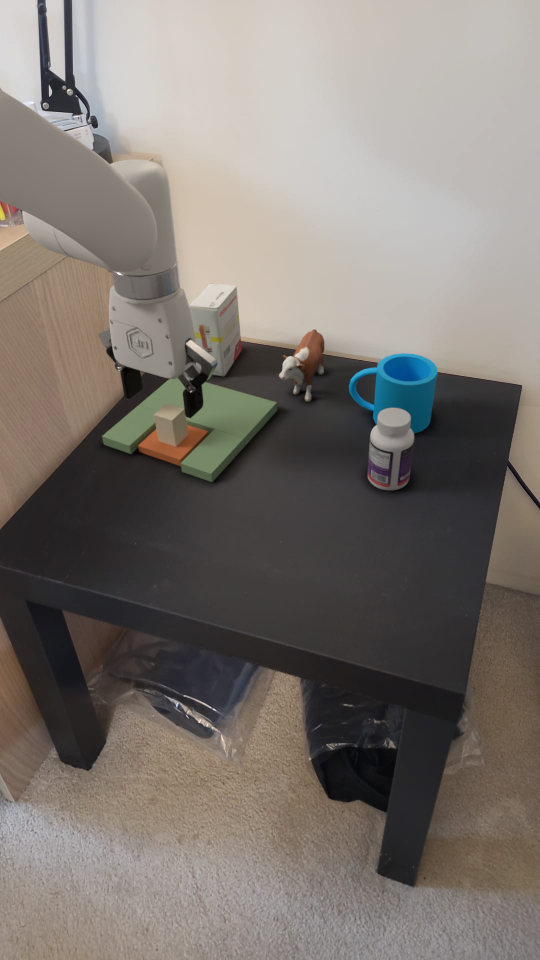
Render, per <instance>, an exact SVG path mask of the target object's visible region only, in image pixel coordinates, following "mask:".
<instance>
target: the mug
mask: <svg viewBox="0 0 540 960" xmlns="http://www.w3.org/2000/svg"><path fill="white" fill-rule="evenodd" d="M369 375H376V377H375V388H374V389H375V391H374V402H373V404H372V403H371V402H368V401H367V400H365V399H364V398H362V396H360V394H359V392H358V391H357V383H358V382H359V380H360V379H362V378H363V377H365V376H369ZM437 379H438V367H437V365H436V363H435V362H433V361H432V360H431V359H429V358H427V357H425V356H423V355H419V354H414V353H407V352H406V353H405V352H403V353H401V352H400V353H394V354H389V355H386V356H385V357H384V358H381V359H380V361H379V362H378V363H377V365H376V367H369V368H368V367H367V368H364V369H362V370H360V371H358V372H356V373H355V374H353V376H352V378H351V379H350V380H349V385H348V390H349V394H350V396H351V398H352V400H353V401H354V402H355V403H356V404H358V405H359V406H360V407H362V408H364V409H366V410H368V411H371V412H373V415H372V419H373V421H374V423H375V425H377V418H378V414H379V412H380V411H382V410H384V409H387V408H399V409H403V410H405V411H407V412H408V413H409V414H410V416H411V424H410V428H411V429H412V431H413V433H414V435H415V434H418V433H420V432H423V431H424V430H425V429H427V428H428V427H429V425H430V424H431V419H432V412H433V406H434V398H435V392H436V387H437Z"/></svg>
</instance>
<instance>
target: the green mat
mask: <svg viewBox="0 0 540 960" xmlns="http://www.w3.org/2000/svg"><path fill="white" fill-rule="evenodd" d="M190 379H191V380H193V379H194V377H190ZM185 389H186V388H185V387H184V385H183V384H182V383H181V381H180V380H179V379H178V378H176V379H168V380H166V381H165V382H164V383H162V384H161V385H160V386H159V387H158V388H157V389H156V390H155V391H153V392H152V393H151V394H150V395H149V396H147V397H146V398H145V399H144V400H143V401H141V403H139V404H137V406H136V407H134V409H132V410H131V411H130V412H129V413H127V414H126V415H125V416H124V417H123V418H121V419H120V420H119V421H118V422H117V423H116V424H114V426H112V427H111V428H110V429H109V430H107V431H106V432H104V434H102V436H101V438H102V443H103V445H104V446H107V447H109V448H112V449H116V450H118V451H121V452H124V453H126V454H130V455H133V454H134V452H135V451H136V450H137V449H139V447H138V445H139V444H140V443H141V442H142V441H144V440H145V439H146V438H147V437H148V436H149V435H150V434H151V433H152V432H153V431H154V430H156V424H155V418H154V414H155V413H156V412H157V411H159V410H160V409H161V408H162V407H163V406H164V405H165V404H166V403H167V404H171V405H174V406H177V407H180V408H184V401H183V391H184V390H185ZM202 392H203V407H202V408H201V409H200V410H199V411H198V412H197V413H196V414H195V415H194V416H193V417H192V418H188V417H186V422H187V425H189V426H192V427H196V428H199V429H202V430H205V431H208V434H209V435H208V436H207V437H206V438H205V439H204V440H203V441H202V442H201V443H200V444H199V445H198V446H197V447H196V448H195V449H194V450H193V451H192V452H191V453H190V454H189V455H188V456H187V457H186V458H185V459H184V460H183V461H182V462H181V466H180V468H181V472H182V473H184V474H187V475H190V476H193V477H195V478H199V479H201V480H204V481H207V482H210V483H213V482H214V481H215V480H216V479H217V478H218V477H219V476H220V475H221V473H223V471H224V470H225V469H226V468H227V467H228V466H229V464H230V463H232V461H233V460H234V459H235V458H236V457H237V455H239V454H240V452H242V451H243V449H244V448H245V447H246V446H247V444H248V443H250V441H251V440H253V438H254V437H255V436H256V435H257V434H258V433H259V431H260V430H261V429H262V428H264V426H265V425H266V424H267V423H268V422H269V420H270V419H271V418H272V417H273V416H274V415H275V414H276V413H277V411H278V402H277V401H274V400H271V399H266V398H262V397H259V396H256V395H252V394H249V393H246V392H242V391H238V390H235V389H231V388H227V387H224V386H220V385H218V384H213V383H210V382H207V381H206V382H205V383H204V384H202Z"/></svg>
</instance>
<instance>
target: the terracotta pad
mask: <svg viewBox="0 0 540 960" xmlns="http://www.w3.org/2000/svg"><path fill="white" fill-rule="evenodd" d="M154 418H155V424H156V430H154V431H153V432H152V433H151V434H150V435H149V436H148V437H147V438H146V439H145V440H144V441H142V442H141V443H140V444H139V445H138V452H139V453H141V454H143V455H147V456H148V457H149V456H150V457H152V458H155V459H159V460H160V461H161V460H162V461H164V462H167V463H170V464H173V465H175V466H178V467H181V462H182V461H183V460H184V459H185V458H186V457H187V456H188V455H189V454H190V453H191V452H192V451H193V450H194V449H195V448H196V447H197V446H198V445H199V444H200V443H201V442H202V441H203V440H204V439H205V438H206V437H207V436H208V435H209V434H208V431H205V430H202V429H199V428H196V427H192V426H189V425H187V422H186V416H185V409H184V408H180V407H177V406H174V405H171V404H167V403H166V404H165V405H164V406H163V407H162V408H161V409H160V410H159V411H157V412H156V413H155V414H154Z"/></svg>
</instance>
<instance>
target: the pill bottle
mask: <svg viewBox="0 0 540 960" xmlns="http://www.w3.org/2000/svg"><path fill="white" fill-rule="evenodd" d="M410 424H411V416H410V414H409V413H408V412H407V411H405V410H403V409H399V408H387V409H384V410H382V411H380V412H379V414H378V418H377V424H375V425H374V426H373V428H372V429H371V431H370V436H369V446H368V447H369V450H368V461H367V479H368V481H369V482H370V484H371V485H372V486H374V487H375V488H377V489H380V490H383V491H397V490H400V489H403V488H404V487H405V486H406V485H407V484H408V483H409V481H410V475H411V469H412V461H413V453H414V445H415V434H414V433H413V431H412V429H411V428H410Z"/></svg>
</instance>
